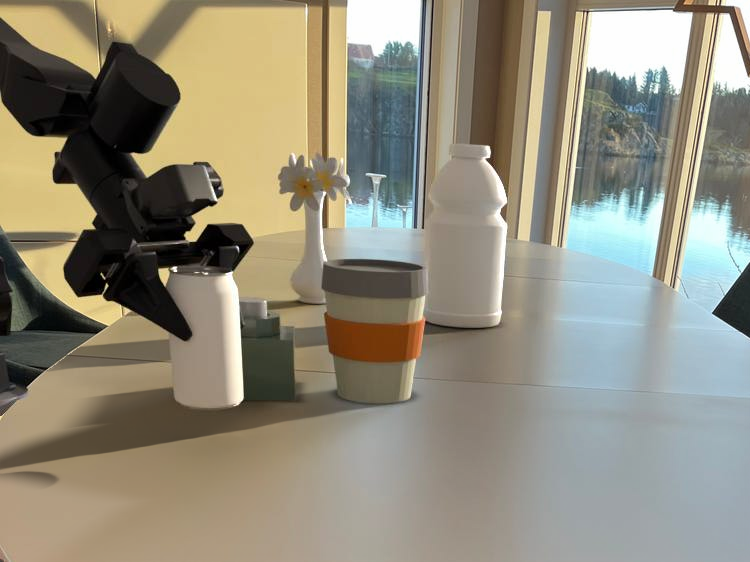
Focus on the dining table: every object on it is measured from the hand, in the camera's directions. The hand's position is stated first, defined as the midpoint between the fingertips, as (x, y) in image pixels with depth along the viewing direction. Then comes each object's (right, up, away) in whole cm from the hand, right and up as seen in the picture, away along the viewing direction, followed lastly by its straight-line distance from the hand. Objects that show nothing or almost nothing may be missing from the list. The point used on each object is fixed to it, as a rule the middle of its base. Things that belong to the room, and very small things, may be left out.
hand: (215, 333), depth 87 cm
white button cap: (-3, +9, +23) cm, 25 cm away
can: (-2, -6, +4) cm, 7 cm away
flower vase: (-6, +35, +90) cm, 97 cm away
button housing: (-3, +2, +27) cm, 28 cm away
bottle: (+21, +28, +80) cm, 88 cm away
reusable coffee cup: (+11, +2, +29) cm, 32 cm away
